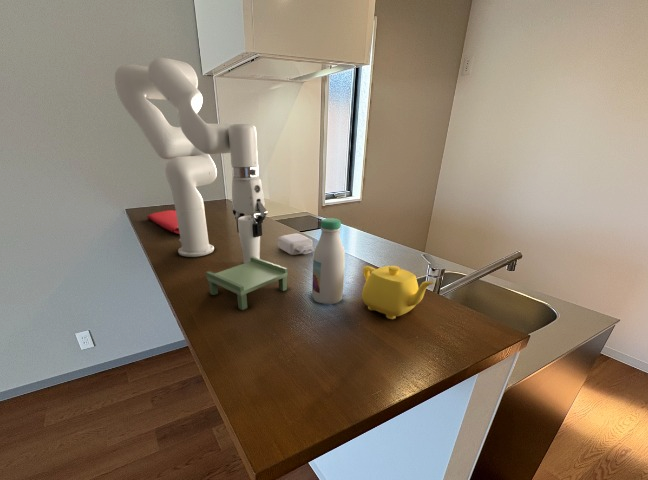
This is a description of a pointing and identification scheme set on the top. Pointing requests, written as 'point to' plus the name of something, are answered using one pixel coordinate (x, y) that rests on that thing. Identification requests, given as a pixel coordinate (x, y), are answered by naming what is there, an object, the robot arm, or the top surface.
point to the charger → (295, 244)
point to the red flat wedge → (166, 220)
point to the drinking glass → (248, 239)
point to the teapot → (392, 290)
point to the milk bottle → (328, 264)
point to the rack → (248, 278)
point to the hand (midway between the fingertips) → (249, 233)
